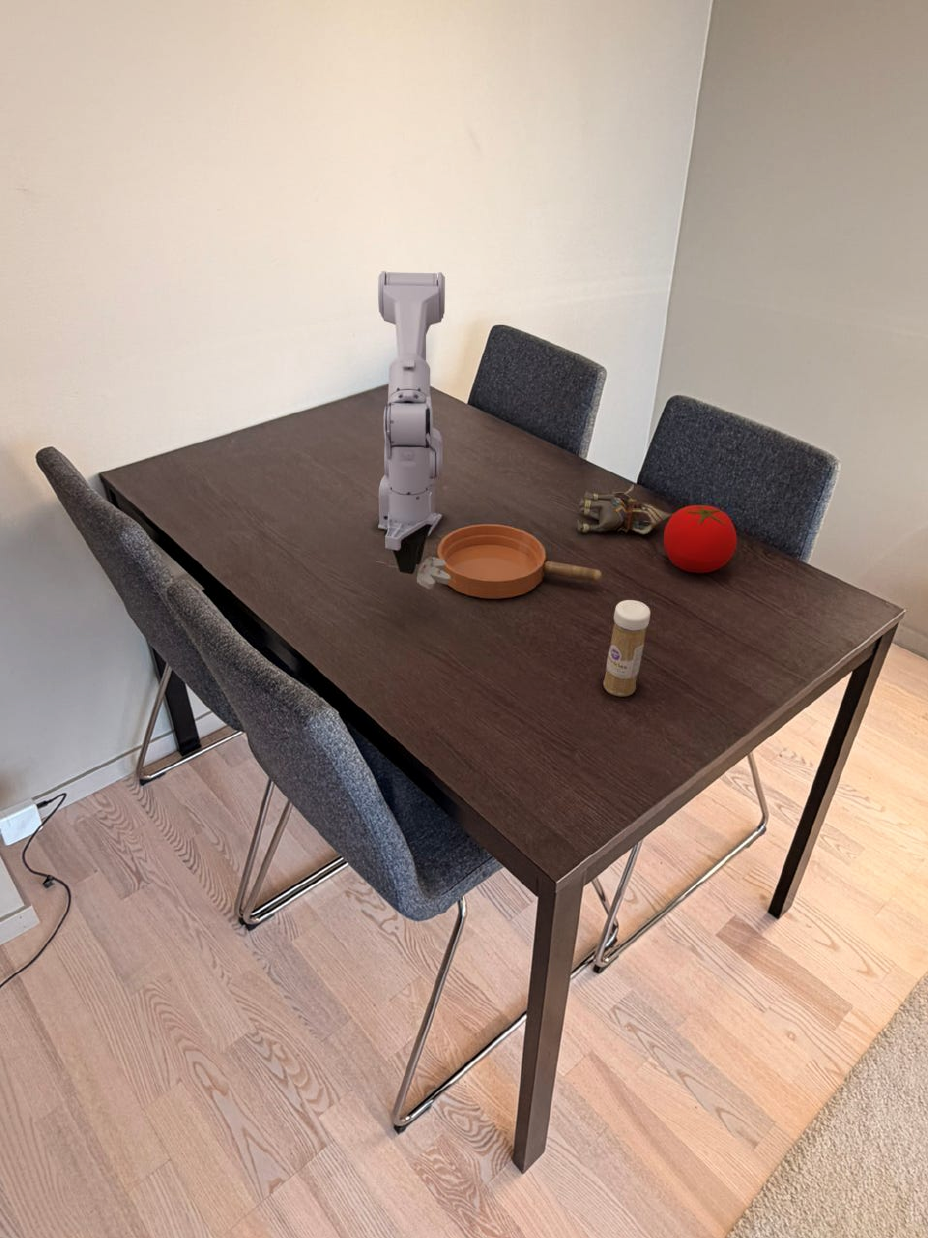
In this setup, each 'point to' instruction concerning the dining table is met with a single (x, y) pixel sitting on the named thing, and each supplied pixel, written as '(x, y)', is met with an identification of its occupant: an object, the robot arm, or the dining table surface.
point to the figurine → (619, 512)
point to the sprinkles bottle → (626, 647)
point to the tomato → (699, 539)
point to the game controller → (431, 573)
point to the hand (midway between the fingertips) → (410, 567)
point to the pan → (492, 560)
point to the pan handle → (572, 571)
